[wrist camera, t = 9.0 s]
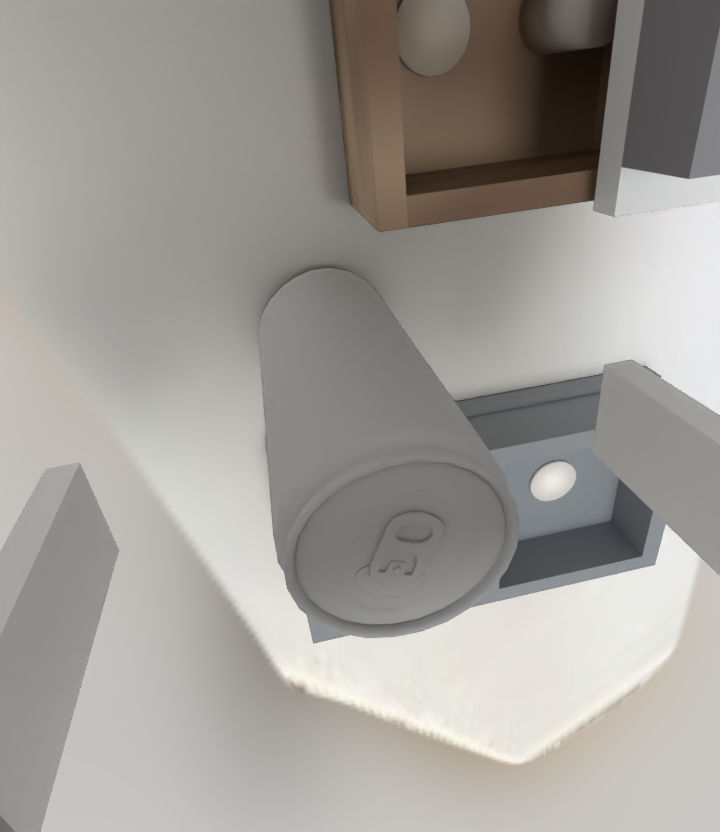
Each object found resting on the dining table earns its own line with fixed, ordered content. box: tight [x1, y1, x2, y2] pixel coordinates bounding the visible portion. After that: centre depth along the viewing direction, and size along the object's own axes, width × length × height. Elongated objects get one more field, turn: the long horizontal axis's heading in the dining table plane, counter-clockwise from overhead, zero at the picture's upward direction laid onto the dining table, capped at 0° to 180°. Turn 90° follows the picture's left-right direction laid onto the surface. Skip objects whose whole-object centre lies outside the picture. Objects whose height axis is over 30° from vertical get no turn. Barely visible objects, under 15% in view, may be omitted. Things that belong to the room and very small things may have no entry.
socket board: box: [265, 367, 666, 643], centre depth 24 cm, size 9×17×4 cm, turn 96°
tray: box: [329, 0, 618, 232], centre depth 14 cm, size 9×9×4 cm
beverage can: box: [258, 268, 520, 638], centre depth 15 cm, size 5×5×12 cm
